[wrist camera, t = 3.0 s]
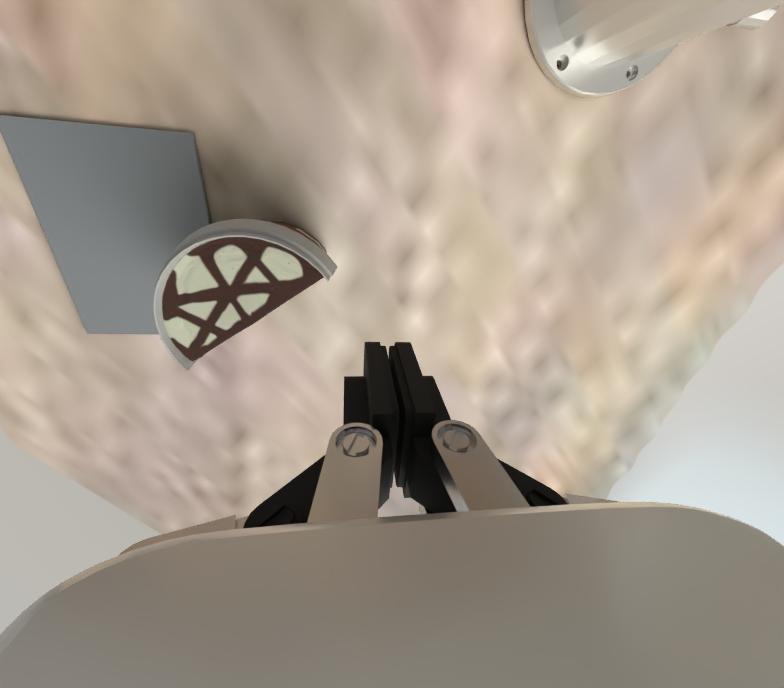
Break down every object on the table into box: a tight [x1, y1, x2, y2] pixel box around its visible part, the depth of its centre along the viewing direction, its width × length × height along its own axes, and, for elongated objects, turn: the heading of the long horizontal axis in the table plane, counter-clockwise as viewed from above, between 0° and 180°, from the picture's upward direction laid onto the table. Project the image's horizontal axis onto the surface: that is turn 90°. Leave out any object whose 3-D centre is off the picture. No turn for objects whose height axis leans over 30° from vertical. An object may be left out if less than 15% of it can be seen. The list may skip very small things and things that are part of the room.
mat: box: [0, 115, 211, 334], centre depth 26 cm, size 12×16×1 cm
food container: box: [154, 219, 337, 372], centre depth 23 cm, size 12×6×10 cm, turn 121°
